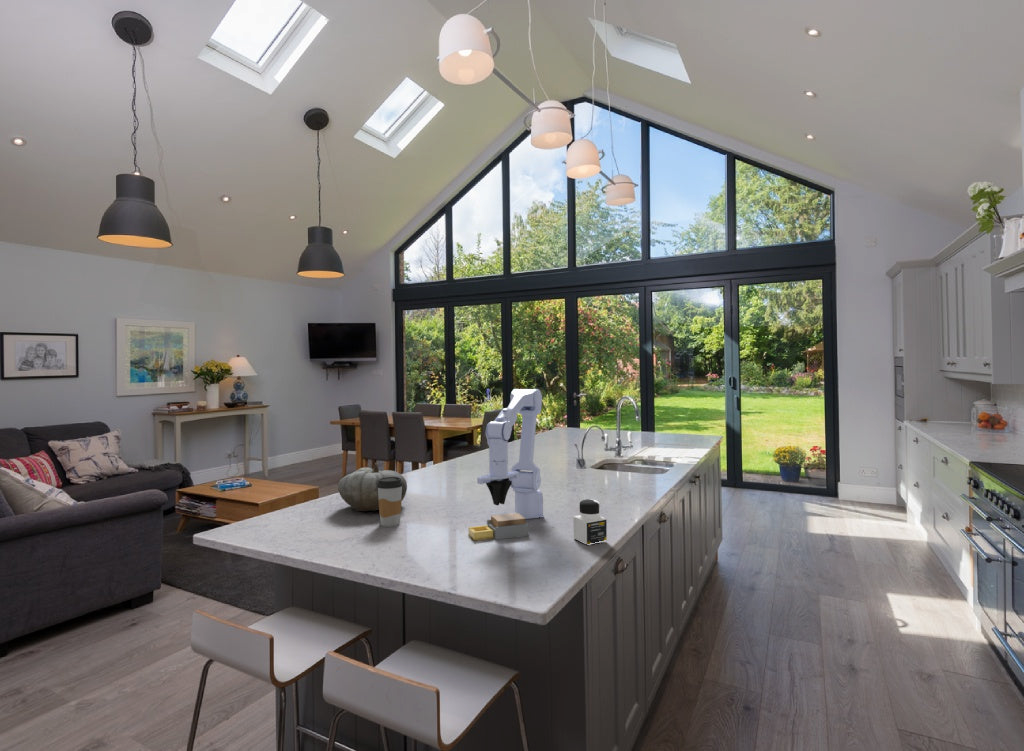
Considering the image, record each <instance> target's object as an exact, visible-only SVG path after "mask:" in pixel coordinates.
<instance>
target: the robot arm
mask: <svg viewBox="0 0 1024 751" xmlns="http://www.w3.org/2000/svg"><path fill="white" fill-rule="evenodd" d="M509 398H510V402H509V404H508V406H507V407H505V408H504V407H503V408H502V410H501V411H500V412H499V414H497V416H496V417H495V419H494V420H493V421H492V420H491V421H490V422H488V423H487V424H486V427H485V437H486V440H487V445H488V447H489V448H488V449H489V450H488V451H489V452H488V457H489V458H488V461H489V467H488V468H489V472H488V474H485V475H481V476H477V480H476V482H477V484H478V485H484V484H485V485H486V488H487V489H488V490H489V492H490V495H491V498H492V502H493V503H492V504H493V505H495V506H499V505H500V504H501V505H505V503H506V498H507V495H508V492H509V490H510V488H511V489H512V491H513V492H514V512H513V513H519V514H520V515H522V516H523V517H525V518H526V520H529V519H531V520H532V519H537V518H539V517H540V518H544V517H545V515H544V496H543V493H542V490H541V489H540V487H541V482H542V478H541V469H540V467H539V466H537V464H535V463H534V454H535V440H536V439H535V438H536V428H537V418H538V415H540V414H541V413H542V412H541V411H542V406H543V396H542V391H541V390H540V389H539V388H536V389H535V388H534V389H532V388H531V389H530V388H523V389H522V388H520V389H519V388H513V389H512V391H511V393H510V397H509ZM517 414H519V415H521V416H522V420H521V421H522V422H521V431H520V432H521V433H520V443H519V456H518V457H519V459H518V462H516V463H514V465H513V466H512V467H511V471H509V466H508V465H509V455H508V454H509V450H508V448H509V447H508V442H509V439H510V438H511V435H512V430H513V426H514V424H515V423H516V422H517V420H518V415H517Z"/></svg>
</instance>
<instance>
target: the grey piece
mask: <svg viewBox="0 0 1024 751" xmlns="http://www.w3.org/2000/svg"><path fill="white" fill-rule="evenodd" d="M486 525H487V526H488V527H489V528H490V529H491V530H493V539H495V540H504V539H511V538H520V537H528V535H529V534H530V533H529V527H530V526H529V525H530V524H529V523H527V522H526V524H518V525H510V526H501V527H495V526H493V525H492V524H491V519H486ZM529 536H530V535H529Z"/></svg>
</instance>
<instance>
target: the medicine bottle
mask: <svg viewBox="0 0 1024 751" xmlns="http://www.w3.org/2000/svg"><path fill="white" fill-rule="evenodd" d="M607 528H608V527H607V518H605V517H604V516H601V503H600V501H598V500H597V499H590V498H589V499H588V498H587V499H583V500H581V501H580V502H579V515H573V539H574V538H575V539H577V540H579V541H582V542H584V543H586V544H590V543H595V542H599V541H604V540H607V536H608V535H607V530H608V529H607Z"/></svg>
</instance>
